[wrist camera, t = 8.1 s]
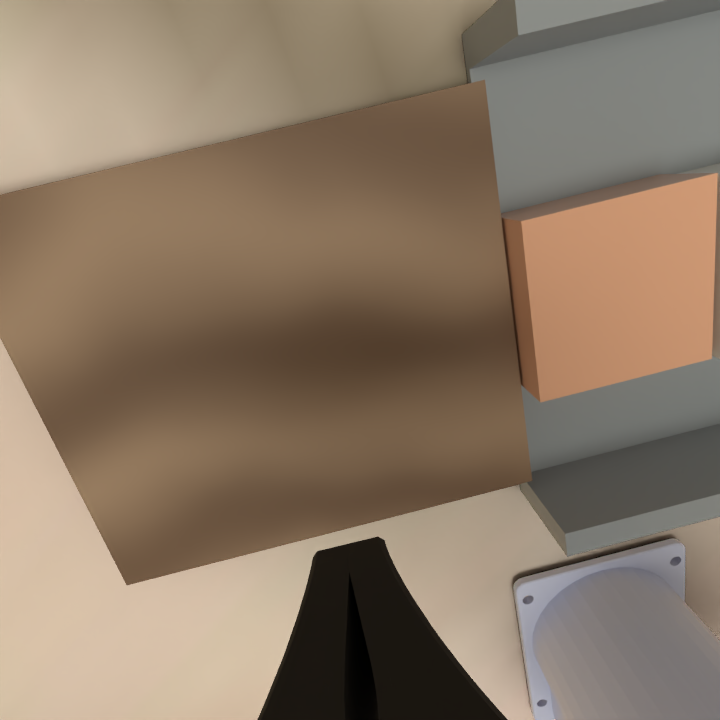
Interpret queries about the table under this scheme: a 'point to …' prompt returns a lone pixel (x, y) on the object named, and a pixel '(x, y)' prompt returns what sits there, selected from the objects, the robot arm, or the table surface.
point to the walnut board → (272, 331)
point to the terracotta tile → (612, 282)
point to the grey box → (592, 172)
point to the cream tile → (719, 278)
